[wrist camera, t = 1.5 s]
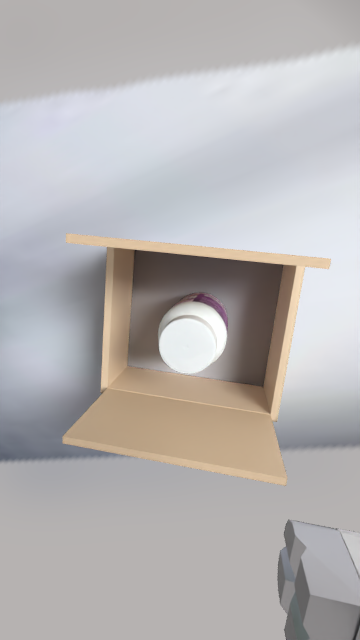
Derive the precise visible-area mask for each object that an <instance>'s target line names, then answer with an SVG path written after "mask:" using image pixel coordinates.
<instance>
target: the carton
mask: <svg viewBox="0 0 360 640" xmlns="http://www.w3.org/2000/svg"><path fill="white" fill-rule="evenodd" d="M66 243H74V244H84V245H94V246H104V247H107V261H106V283H105V306H104V328H103V350H102V372H101V393H102V394H101V396H100V397H99V398H98V399H97V400H96V401H95V402H94V403H93V404H92V405H91V406H90V407H89V408H88V410H87V411H86V412H85V413H84V414H83V415H82V416H81V417H80V418H79V419H78V420H77V421H76V423H75V424H74V425H73V426H72V427H71V428H70V429H69V430H68V431H67V432H66V433H65V434H64V435H63V443H64V444H69V445H74V446H79V447H85V448H90V449H95V450H100V451H106V452H111V453H116V454H121V455H127V456H132V457H137V458H142V459H148V460H153V461H159V462H164V463H169V464H174V465H179V466H184V467H190V468H195V469H200V470H206V471H211V472H216V473H222V474H226V475H232V476H237V477H242V478H247V479H252V480H258V481H263V482H268V483H274V484H279V485H284V486H286V483H287V475H286V471H285V468H284V464H283V460H282V457H281V452H280V449H279V445H278V441H277V437H276V434H275V430H274V426H273V422H272V421H274V422H277V419H278V413H279V408H280V402H281V397H282V391H283V386H284V380H285V375H286V369H287V364H288V358H289V353H290V347H291V342H292V336H293V331H294V325H295V320H296V314H297V309H298V303H299V298H300V292H301V287H302V281H303V276H304V270H305V267H314V268H324V269H329V267H330V262H331V259H328V258H317V257H307V256H296V255H286V254H275V253H265V252H255V251H244V250H234V249H223V248H213V247H203V246H192V245H182V244H171V243H161V242H151V241H140V240H130V239H119V238H109V237H98V236H88V235H78V234H67V233H66ZM135 250H143V251H153V252H163V253H173V254H183V255H193V256H203V257H213V258H223V259H233V260H243V261H253V262H263V263H273V264H283V265H284V266H283V272H282V278H281V284H280V289H279V295H278V301H277V307H276V313H275V319H274V325H273V331H272V337H271V343H270V349H269V355H268V361H267V367H266V373H265V379H264V385H263V387H262V386H255V385H248V384H242V383H235V382H229V381H222V380H216V379H209V378H202V377H196V376H189V375H183V374H176V373H169V372H163V371H156V370H150V369H143V368H136V367H130V366H127V364H128V348H129V332H130V317H131V301H132V286H133V270H134V254H135Z"/></svg>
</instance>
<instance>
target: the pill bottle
mask: <svg viewBox="0 0 360 640" xmlns="http://www.w3.org/2000/svg"><path fill="white" fill-rule="evenodd" d="M227 327H228V317H227V312H226V309H225V307H224V305H223V304H222V302H221V301H220V300H219V299H217V298H216V297H214V296H213V295H211V294H208V293H202V292H199V293H193V294H190V295H187V296H186V297H184V298H183V299H181V300H180V301H179V302H178V303H177V304H175V305H174V306H173V307H172V308H171V309H170V310H169V311H168V312H167V313H166V314H165V315H164V316H163V318H162V320H161V322H160V325H159V329H158V340H159V352H160V355H161V357H162V359H163V361H164V362H165V363H166V364H167V365H168V366H169V367H170V368H171V369H173V370H174V371H176V372H179V373H184V374H193V373H197V372H200V371H202V370H204V369H205V368H206V367H208V366H209V365H210V364H212V363H213V362H215V361H216V360H217V359H218V358H219V357H220V355H221V354H222V352H223V350H224V348H225V346H226V342H227Z"/></svg>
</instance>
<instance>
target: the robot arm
mask: <svg viewBox="0 0 360 640" xmlns="http://www.w3.org/2000/svg"><path fill="white" fill-rule="evenodd" d="M284 537H285V542H286V547H284V548H283V549H282V550H281V551H280V556H279V562H278V591H279V598H280V604H281V606H282V607H283V609H284V610H285V612H286V613H287V615H288V616H287V620H286V625H285V629H284V630H285V637H286V640H360V533H359V532H354V531H348V530H343V529H337V528H336V529H334V528H330V527H325V526H319V525H314V524H309V523H304V522H299V521H293V520H288V521H287V523H286V526H285V531H284Z"/></svg>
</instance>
